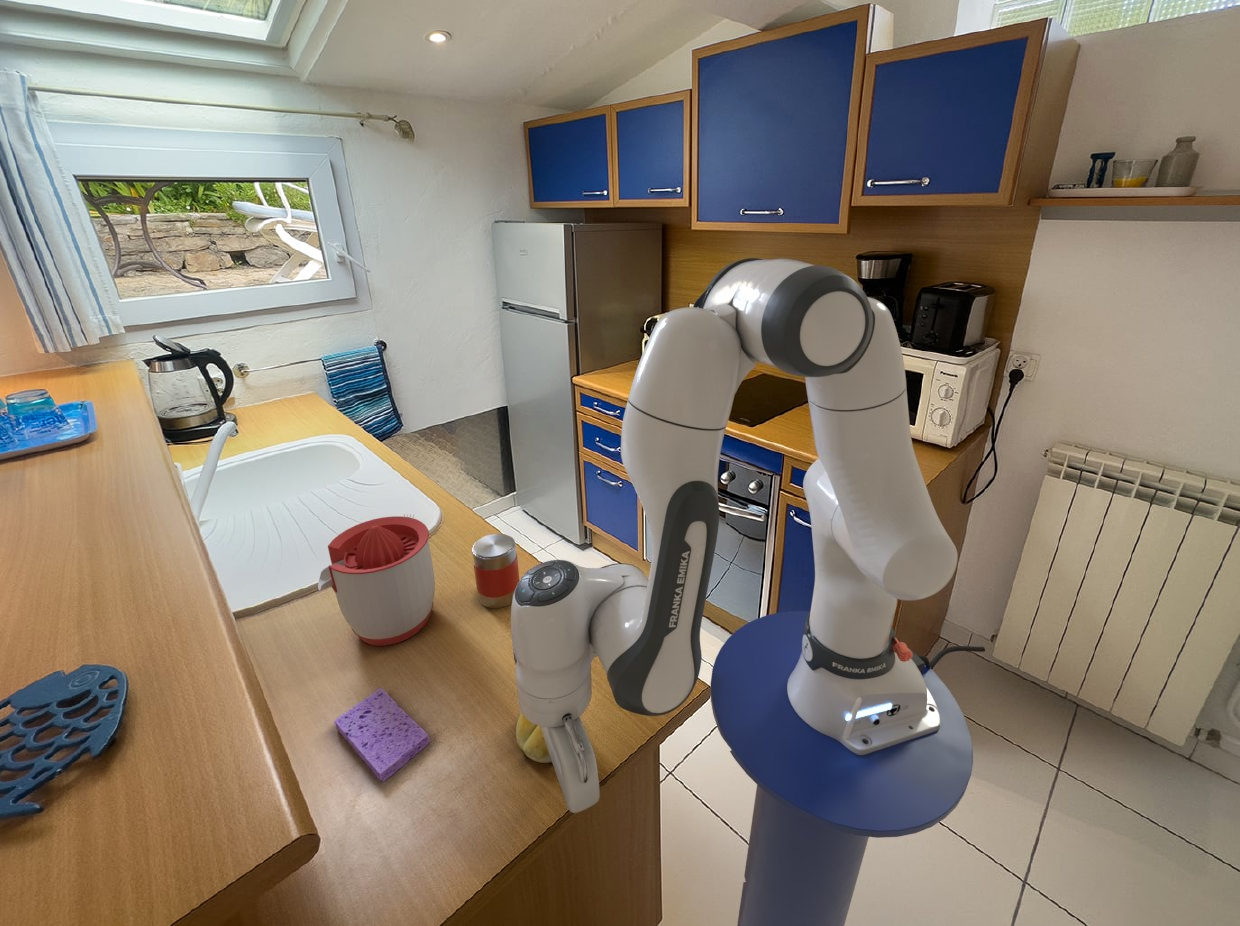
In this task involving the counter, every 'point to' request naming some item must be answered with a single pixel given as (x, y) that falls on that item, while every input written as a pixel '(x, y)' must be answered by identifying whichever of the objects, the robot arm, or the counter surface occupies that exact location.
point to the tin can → (495, 569)
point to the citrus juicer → (382, 578)
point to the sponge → (382, 733)
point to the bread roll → (532, 740)
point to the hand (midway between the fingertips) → (560, 762)
